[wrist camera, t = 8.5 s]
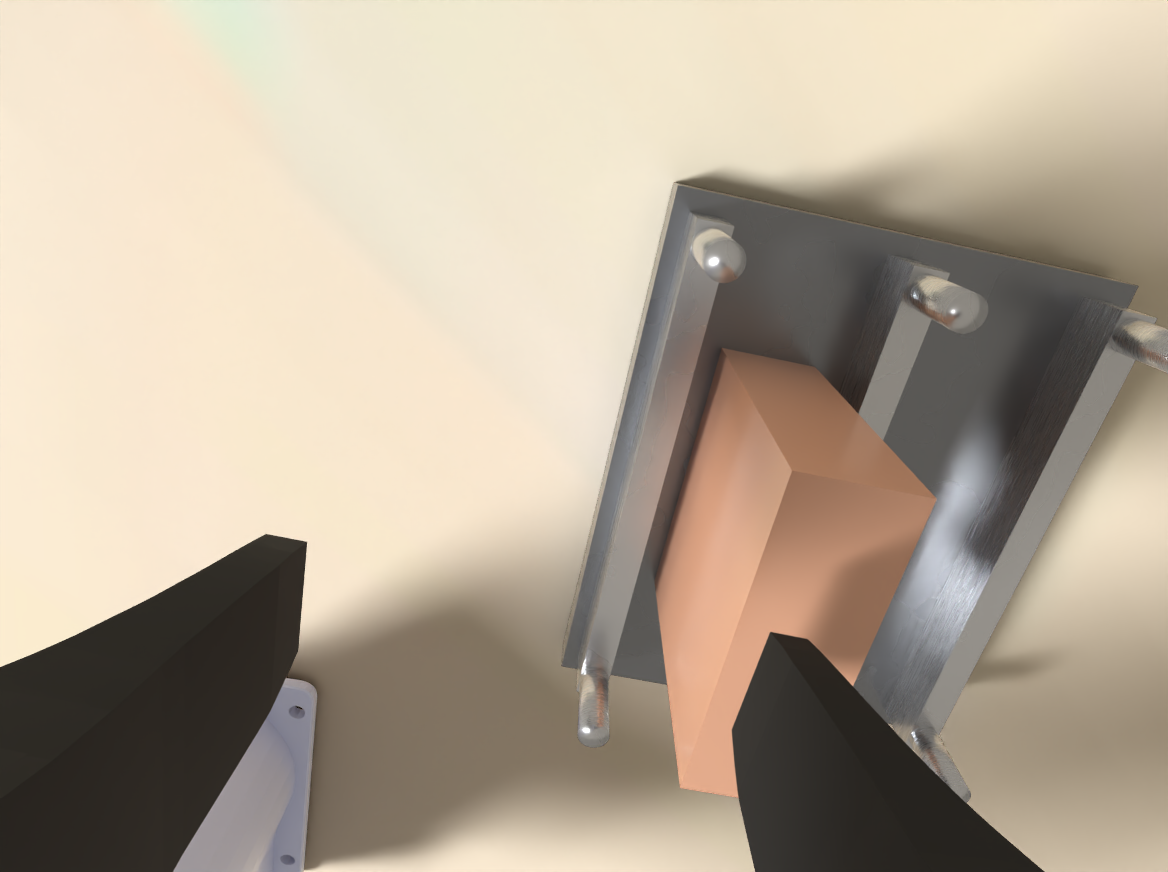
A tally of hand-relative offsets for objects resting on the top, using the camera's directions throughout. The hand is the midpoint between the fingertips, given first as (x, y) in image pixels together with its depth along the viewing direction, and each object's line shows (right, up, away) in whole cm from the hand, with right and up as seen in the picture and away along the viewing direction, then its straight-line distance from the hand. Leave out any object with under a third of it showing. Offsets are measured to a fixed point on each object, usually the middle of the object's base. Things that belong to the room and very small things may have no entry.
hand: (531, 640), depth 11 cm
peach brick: (+5, +2, +8) cm, 10 cm away
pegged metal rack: (+7, +2, +9) cm, 12 cm away
